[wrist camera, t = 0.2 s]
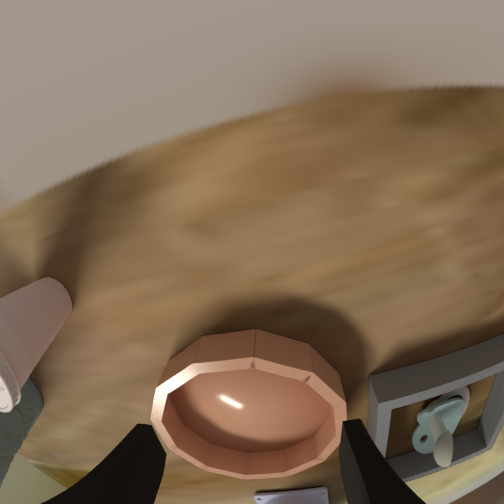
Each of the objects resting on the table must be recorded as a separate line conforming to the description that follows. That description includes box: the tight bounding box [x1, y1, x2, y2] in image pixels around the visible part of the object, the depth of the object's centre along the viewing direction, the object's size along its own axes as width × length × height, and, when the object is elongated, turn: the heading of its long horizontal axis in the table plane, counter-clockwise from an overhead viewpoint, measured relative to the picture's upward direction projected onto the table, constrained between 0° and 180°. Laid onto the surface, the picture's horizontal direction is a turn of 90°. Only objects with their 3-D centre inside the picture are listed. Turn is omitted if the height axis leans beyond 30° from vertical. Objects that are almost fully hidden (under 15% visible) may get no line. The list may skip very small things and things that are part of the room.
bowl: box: [151, 329, 347, 479], centre depth 21 cm, size 14×14×3 cm
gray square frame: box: [367, 334, 504, 482], centre depth 21 cm, size 14×14×3 cm
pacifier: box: [412, 386, 470, 467], centre depth 19 cm, size 7×6×6 cm
